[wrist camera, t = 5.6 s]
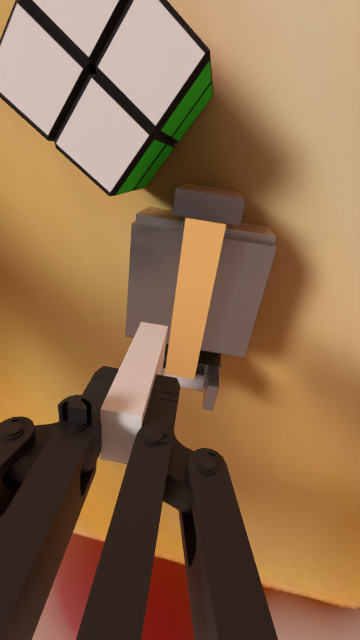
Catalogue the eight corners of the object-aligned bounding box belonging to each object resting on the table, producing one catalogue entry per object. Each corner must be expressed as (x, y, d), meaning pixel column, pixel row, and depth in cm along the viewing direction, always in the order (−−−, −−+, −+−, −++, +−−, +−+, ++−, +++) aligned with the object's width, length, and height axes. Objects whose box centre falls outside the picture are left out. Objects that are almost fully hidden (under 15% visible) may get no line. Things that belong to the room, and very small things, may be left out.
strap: (156, 375, 31) (153, 385, 30) (174, 212, 22) (171, 217, 21) (202, 383, 31) (201, 394, 30) (239, 223, 22) (240, 228, 21)
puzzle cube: (121, -12, 22) (59, -128, 14) (216, 92, 25) (214, 51, 16) (58, 109, 27) (-21, 81, 18) (144, 190, 29) (111, 200, 20)
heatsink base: (137, 344, 37) (115, 392, 29) (150, 177, 28) (124, 181, 20) (231, 361, 37) (234, 414, 29) (275, 196, 28) (298, 208, 20)
